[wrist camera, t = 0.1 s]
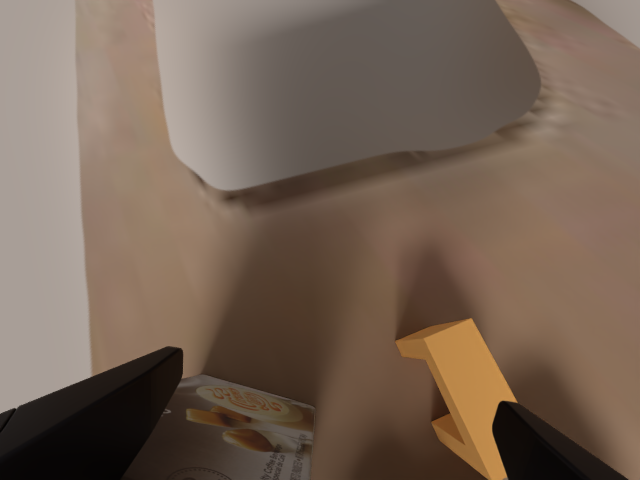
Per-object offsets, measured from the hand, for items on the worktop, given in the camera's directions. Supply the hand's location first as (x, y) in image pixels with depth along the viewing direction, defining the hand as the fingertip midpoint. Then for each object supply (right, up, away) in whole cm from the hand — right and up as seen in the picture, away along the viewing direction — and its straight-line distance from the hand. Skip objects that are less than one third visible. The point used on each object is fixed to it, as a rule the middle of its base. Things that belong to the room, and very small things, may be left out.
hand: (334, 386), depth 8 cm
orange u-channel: (+8, -6, +14) cm, 17 cm away
